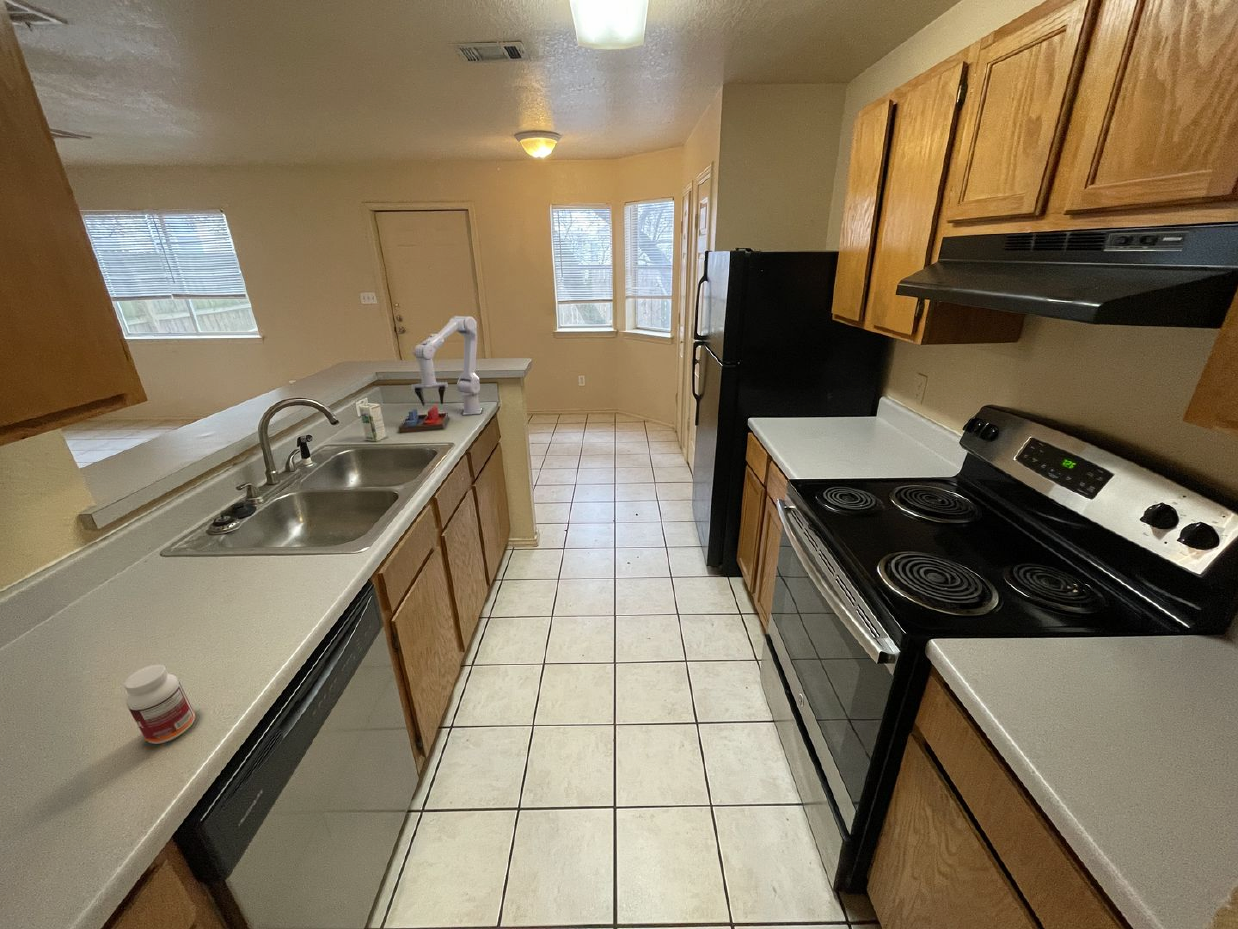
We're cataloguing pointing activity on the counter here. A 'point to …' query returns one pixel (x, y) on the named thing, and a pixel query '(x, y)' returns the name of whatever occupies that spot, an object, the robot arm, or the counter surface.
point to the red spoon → (432, 416)
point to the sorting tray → (421, 426)
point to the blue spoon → (412, 418)
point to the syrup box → (372, 421)
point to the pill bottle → (158, 704)
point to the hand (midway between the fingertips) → (433, 404)
